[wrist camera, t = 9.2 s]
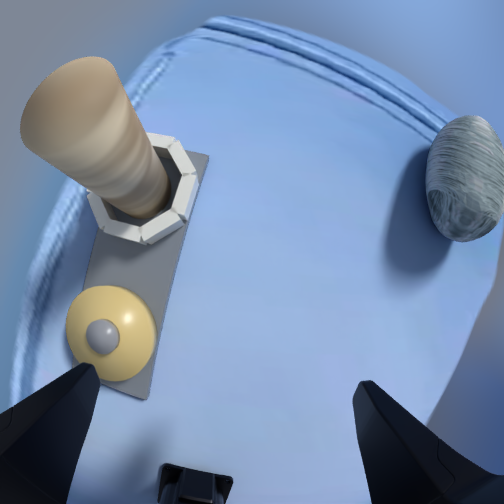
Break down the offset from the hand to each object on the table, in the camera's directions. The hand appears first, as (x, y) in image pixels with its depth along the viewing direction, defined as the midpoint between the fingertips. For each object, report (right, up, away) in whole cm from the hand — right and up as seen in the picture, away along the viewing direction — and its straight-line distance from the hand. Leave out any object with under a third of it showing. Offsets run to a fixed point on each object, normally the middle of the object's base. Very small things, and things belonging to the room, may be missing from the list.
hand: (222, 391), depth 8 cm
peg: (-7, +9, +12) cm, 17 cm away
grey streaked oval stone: (+22, +12, +16) cm, 29 cm away
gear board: (-8, +3, +12) cm, 15 cm away
